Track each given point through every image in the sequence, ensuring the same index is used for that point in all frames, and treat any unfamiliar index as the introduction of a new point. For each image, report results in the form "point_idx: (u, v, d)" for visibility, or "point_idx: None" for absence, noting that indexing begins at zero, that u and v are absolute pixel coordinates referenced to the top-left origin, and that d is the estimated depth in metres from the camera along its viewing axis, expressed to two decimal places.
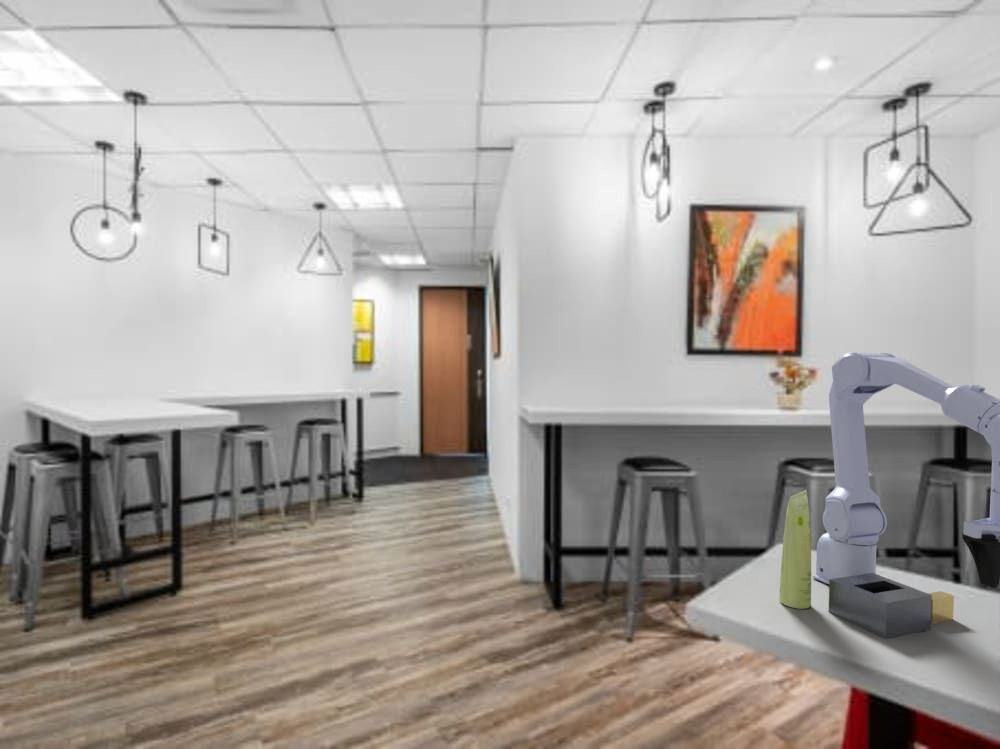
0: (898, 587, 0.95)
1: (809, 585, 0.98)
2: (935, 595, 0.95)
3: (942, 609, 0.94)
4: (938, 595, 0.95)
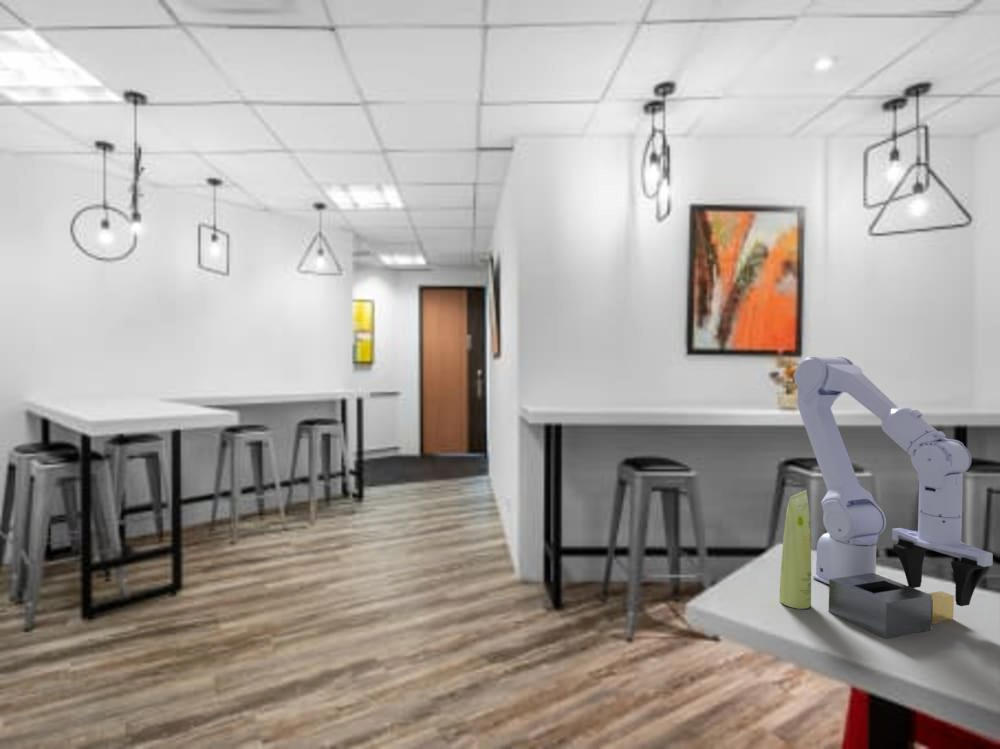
0: (898, 587, 0.95)
1: (809, 585, 0.98)
2: (935, 595, 0.95)
3: (942, 609, 0.94)
4: (939, 595, 0.95)
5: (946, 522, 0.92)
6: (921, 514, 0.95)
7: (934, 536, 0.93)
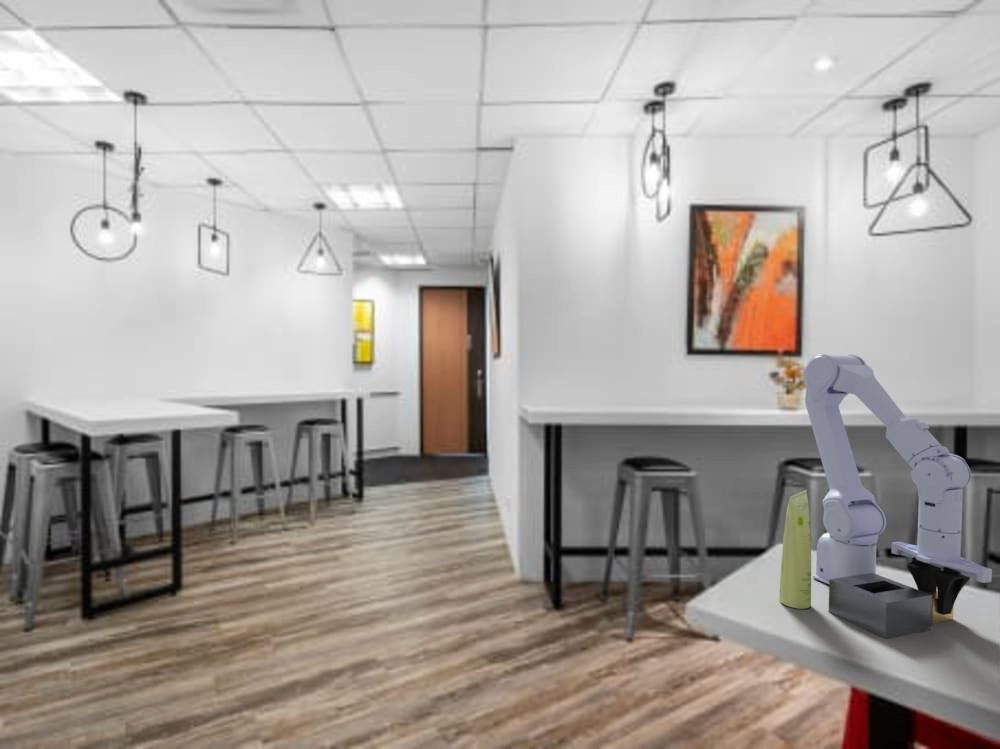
0: (898, 587, 0.95)
1: (809, 585, 0.98)
2: (935, 594, 0.95)
3: None
4: None
5: (945, 537, 0.92)
6: (920, 529, 0.95)
7: (933, 551, 0.93)
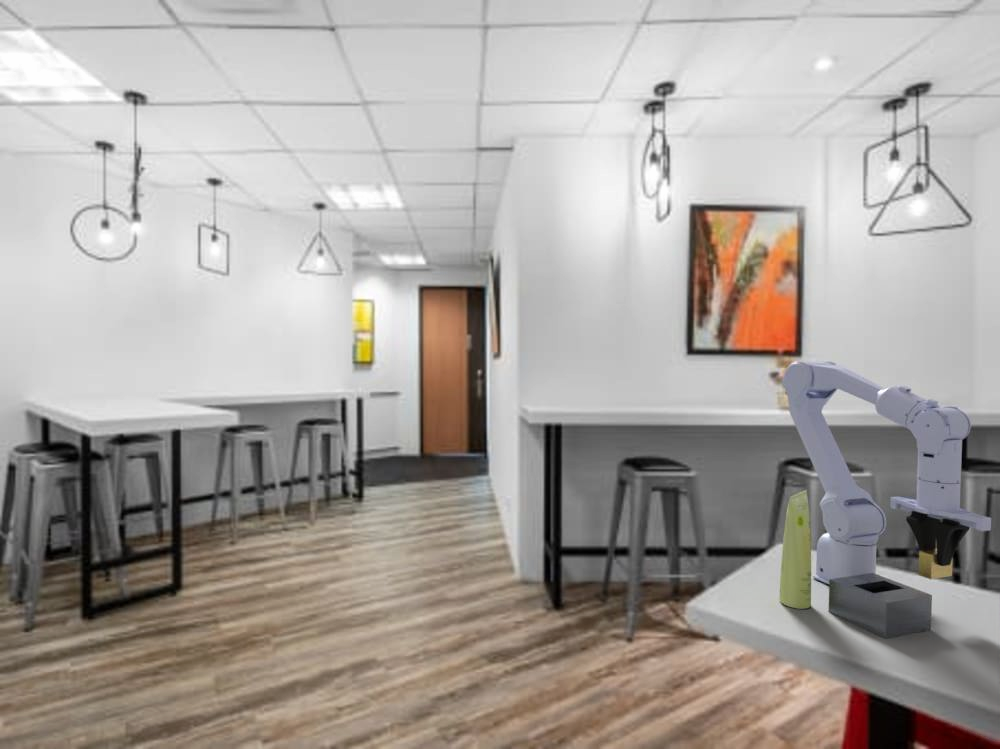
0: (898, 587, 0.95)
1: (809, 585, 0.98)
2: (934, 551, 0.95)
3: None
4: None
5: (945, 488, 0.92)
6: (920, 481, 0.95)
7: (933, 502, 0.93)
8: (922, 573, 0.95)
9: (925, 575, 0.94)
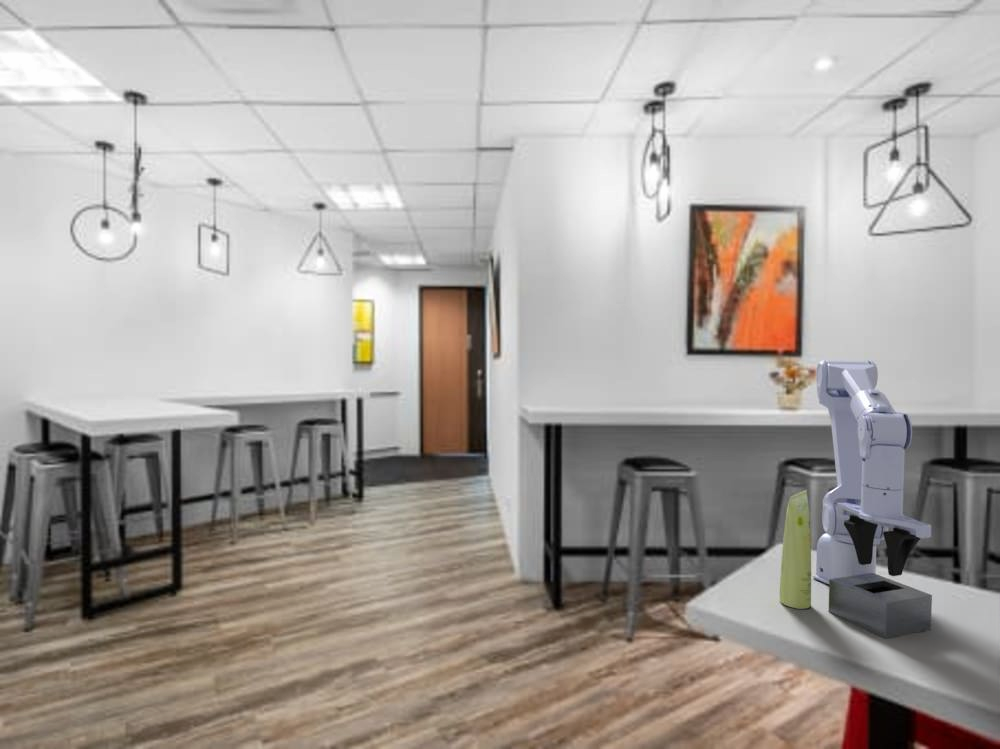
0: (898, 587, 0.95)
1: (809, 585, 0.98)
2: None
3: None
4: None
5: (887, 494, 0.91)
6: (863, 487, 0.94)
7: (875, 509, 0.92)
8: None
9: None
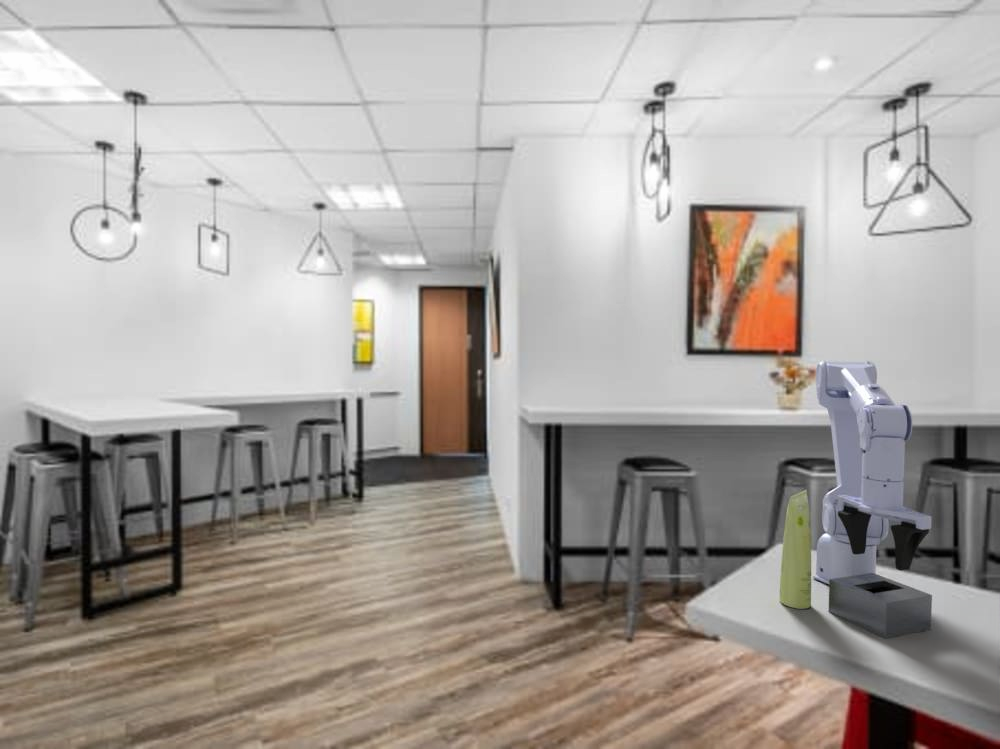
0: (898, 587, 0.95)
1: (809, 585, 0.98)
2: None
3: None
4: None
5: (887, 486, 0.91)
6: (864, 479, 0.94)
7: (875, 500, 0.92)
8: None
9: None
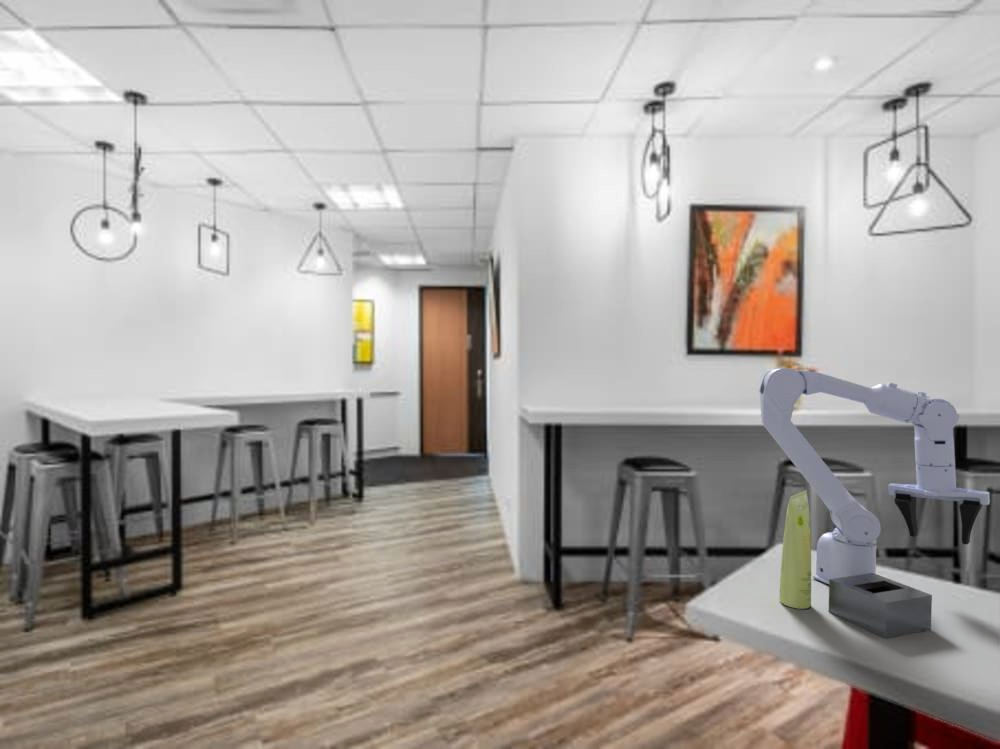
0: (898, 587, 0.95)
1: (809, 585, 0.98)
2: None
3: None
4: None
5: (948, 470, 1.01)
6: (923, 466, 1.03)
7: (939, 485, 1.02)
8: None
9: None
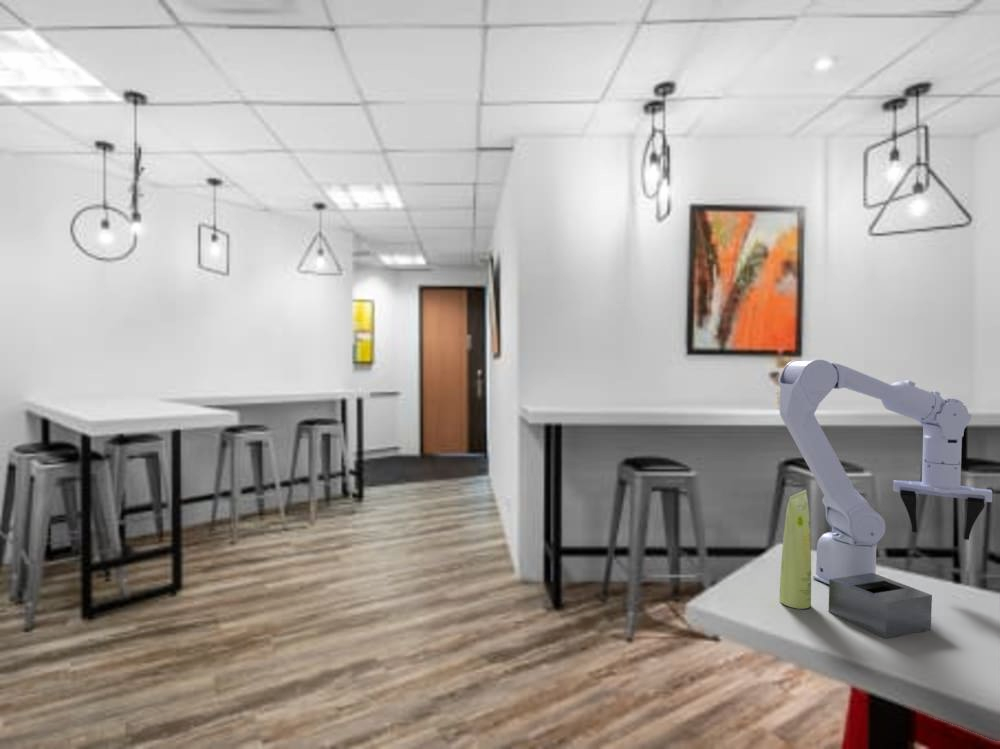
0: (898, 587, 0.95)
1: (809, 585, 0.98)
2: None
3: None
4: None
5: (957, 468, 1.04)
6: (934, 464, 1.06)
7: (949, 482, 1.04)
8: None
9: None
